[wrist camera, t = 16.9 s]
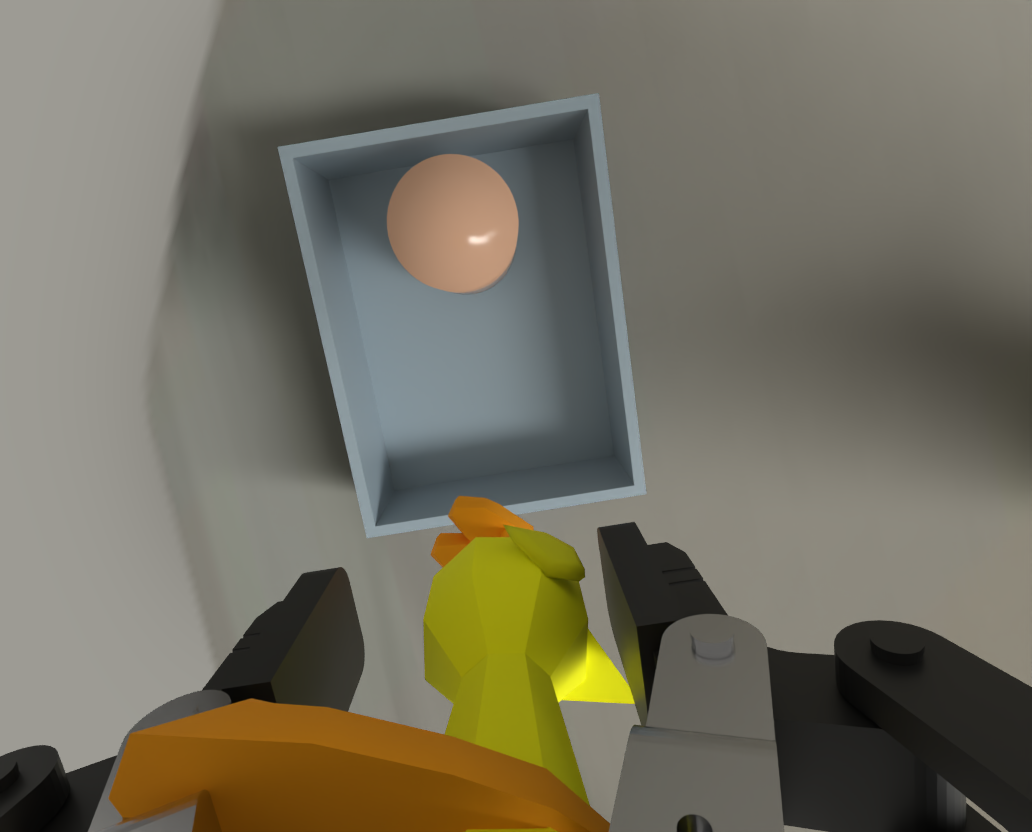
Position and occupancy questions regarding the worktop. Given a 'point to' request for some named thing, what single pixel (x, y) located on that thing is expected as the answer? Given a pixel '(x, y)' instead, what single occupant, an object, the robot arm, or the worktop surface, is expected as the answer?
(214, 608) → the worktop surface
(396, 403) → the tote
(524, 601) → the toy figure
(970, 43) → the worktop surface
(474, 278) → the brown egg
